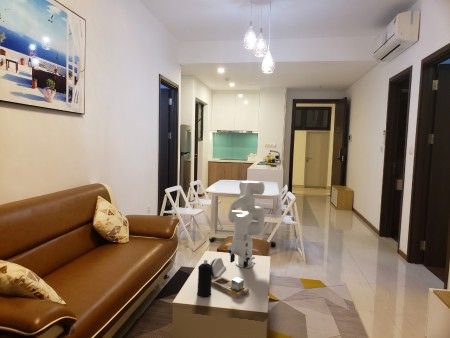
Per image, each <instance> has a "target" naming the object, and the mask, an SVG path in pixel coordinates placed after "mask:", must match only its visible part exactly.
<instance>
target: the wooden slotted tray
mask: <svg viewBox="0 0 450 338" xmlns="http://www.w3.org/2000/svg"><path fill="white" fill-rule="evenodd" d="M221 283H223V284H221ZM231 284H232V280H229V279H228V278H225V277H223V276H220V277H219V278H217V277H216V278H213V279H212V282H211V287H213V288H216V289H218V290H220V291H222V292H224V293H226V294H228V295H230V296H232V297H234V298H236V299H238V300H240V299H241V298H243V297H245V296H247V295H248V294H250V293H249V292H250V289H249V288H247V287H245V286H243V290H242V291H240V292H238V293H237V292H235V291H233V290H231Z"/></svg>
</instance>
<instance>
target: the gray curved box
mask: <svg viewBox="0 0 450 338" xmlns="http://www.w3.org/2000/svg"><path fill="white" fill-rule="evenodd" d="M209 264H210V265H211V266H212V267H213V269H212V278H213V279H214V278H216V279H217V278H219V277H222V275H223V274H224V273H225V272H226V270H227V267H226V266H225V265H224V261H223V259H222V258H221V257H218V258H213V259H212V260H211V261H210V263H209Z"/></svg>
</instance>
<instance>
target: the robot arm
mask: <svg viewBox="0 0 450 338" xmlns="http://www.w3.org/2000/svg"><path fill="white" fill-rule="evenodd" d="M238 185H239V197H238V198H237V199H235V200H234V201H232V203H231V205H230V206H229V210H228V216H227V218H228V219H227V220H228V221H229V222H230V223H233V224H234V225H233V227H234V228H233V237H232V240H231V245H228V246H227V250H228V253H229V256H230V257H229V258H230V260H229V261H230V263H231V264H232V263H233V262H235V266H237V267H239V268H243V269H248V268H249V269H250V268H252V267H254V263H253V260H255V259H256V258H255V256H254V255H253V239H252V236H255V237H256V236H257V237H261V236H262V235H264V232H265V231H264V230H265V214H266V213H265V212H266V211H265V208H264V207H263V206H257V205H256V203H255V201H256V199H255V196H256V195H257V196H258V195H259V196H262V195H263V194H264V193H265V190H266V189H265V183H264V182H261V181H255V180H254V181H253V180H243V181H242V180H241V182H239V184H238ZM254 195H255V196H254ZM255 205H256V206H255ZM240 208H241V210H239V209H240ZM253 220H255V221H253ZM236 256H237V259H238V260H235V259H236Z"/></svg>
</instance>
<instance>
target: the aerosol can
mask: <svg viewBox="0 0 450 338" xmlns="http://www.w3.org/2000/svg"><path fill="white" fill-rule="evenodd" d="M197 268H198V271H197V272H198V273H197V274H198V276H197V292H196V295H197V296H198V297H199V298H210V297H211V296H212V285H211V282H212V280H213V279H212V269H213V267H212V266H211V265H210V263H209V262H208V259H204V260H203V262H202V263H200V264H199V265H198V267H197Z"/></svg>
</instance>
